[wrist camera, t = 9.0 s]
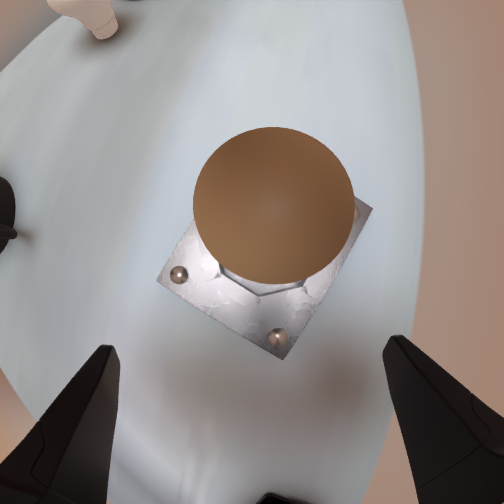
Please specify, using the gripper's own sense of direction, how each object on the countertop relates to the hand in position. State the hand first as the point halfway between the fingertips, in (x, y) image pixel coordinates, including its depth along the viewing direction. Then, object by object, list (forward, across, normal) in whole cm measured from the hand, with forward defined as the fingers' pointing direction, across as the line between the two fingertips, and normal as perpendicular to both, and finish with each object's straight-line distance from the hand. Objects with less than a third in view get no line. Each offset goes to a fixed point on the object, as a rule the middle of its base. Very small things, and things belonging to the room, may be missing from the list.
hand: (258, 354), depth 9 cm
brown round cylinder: (+11, -2, +3) cm, 12 cm away
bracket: (+12, -2, +4) cm, 13 cm away
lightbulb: (+27, +13, -12) cm, 32 cm away
